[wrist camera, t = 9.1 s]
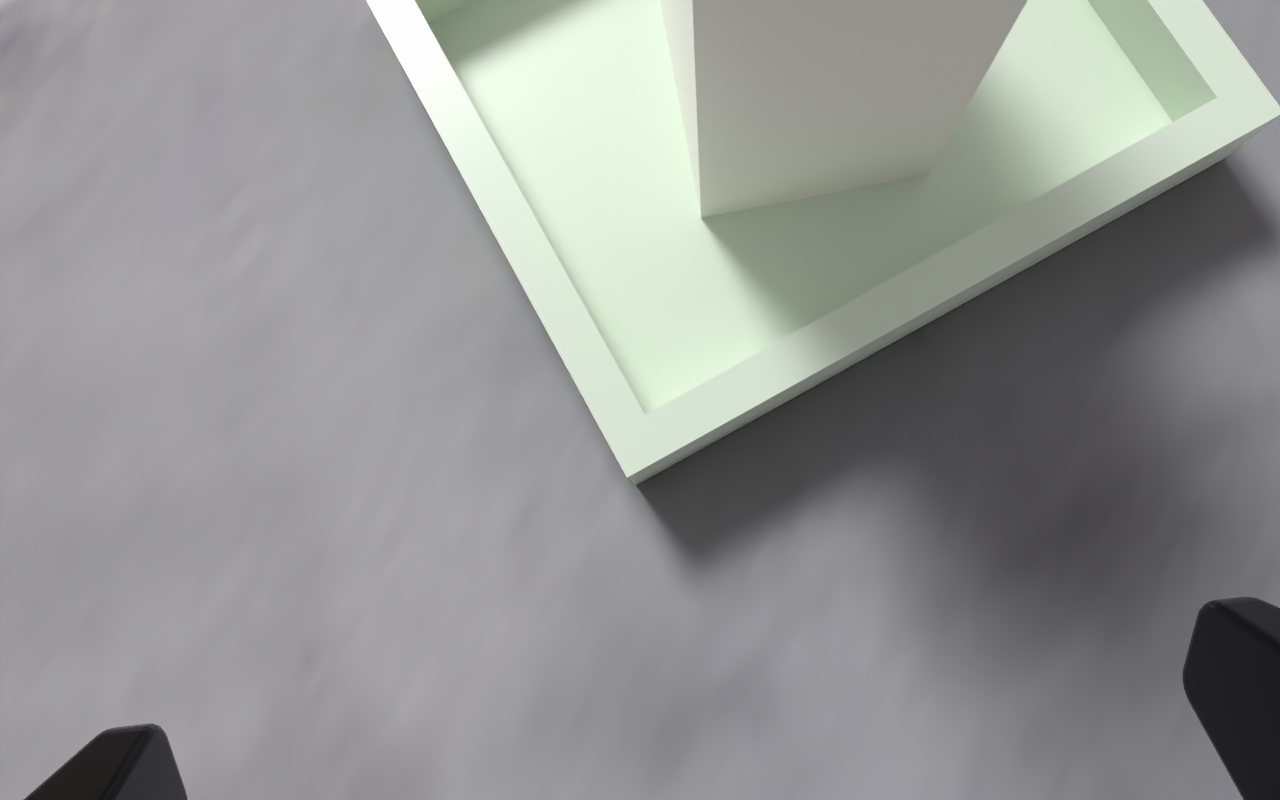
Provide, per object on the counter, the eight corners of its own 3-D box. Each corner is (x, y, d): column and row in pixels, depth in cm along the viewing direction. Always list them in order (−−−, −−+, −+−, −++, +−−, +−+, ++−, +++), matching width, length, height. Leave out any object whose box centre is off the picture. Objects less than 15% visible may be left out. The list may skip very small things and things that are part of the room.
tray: (923, -267, 21) (945, -353, 19) (1224, 158, 19) (1284, 112, 17) (386, 28, 21) (351, -27, 19) (635, 485, 19) (626, 477, 17)
